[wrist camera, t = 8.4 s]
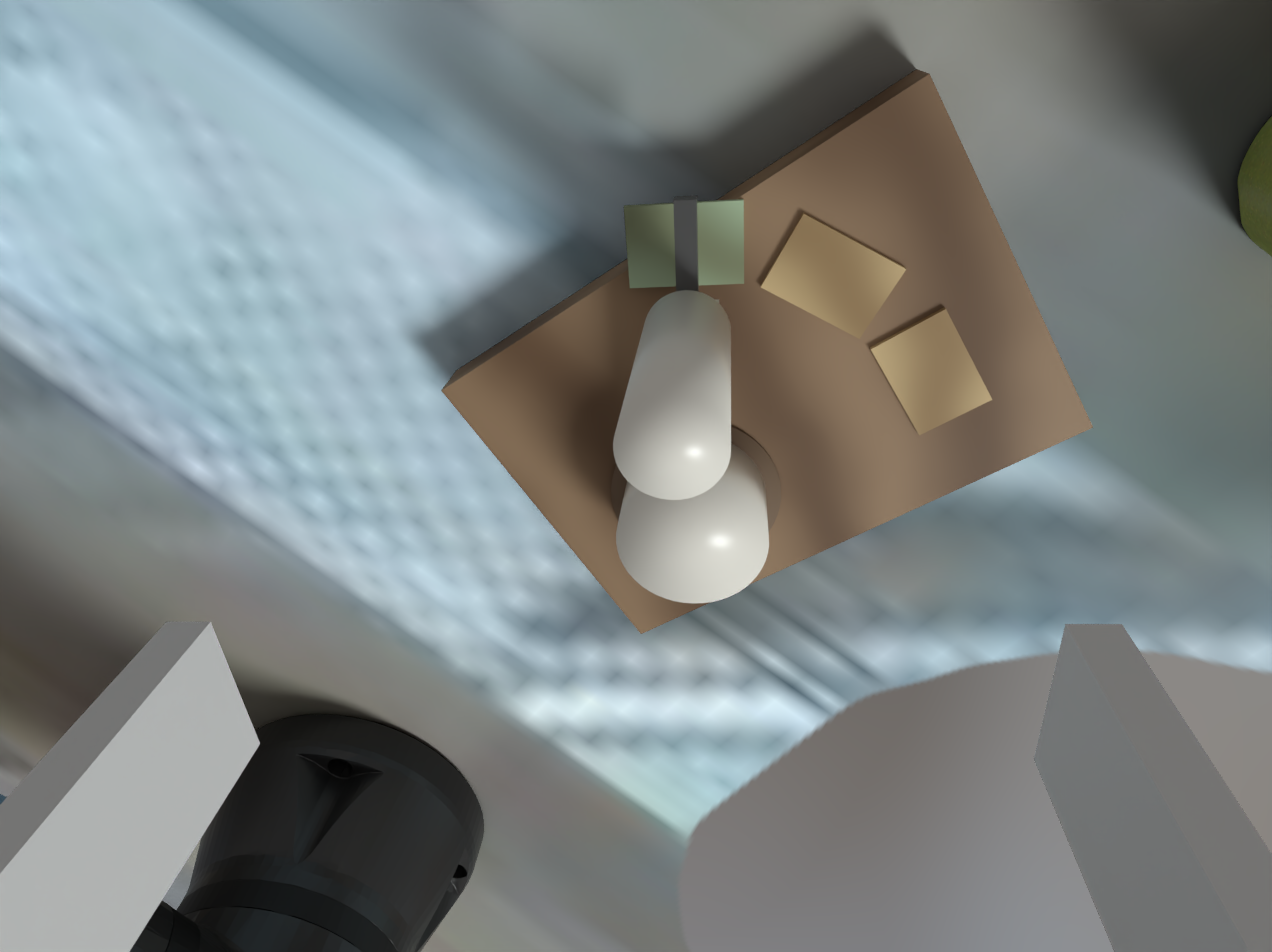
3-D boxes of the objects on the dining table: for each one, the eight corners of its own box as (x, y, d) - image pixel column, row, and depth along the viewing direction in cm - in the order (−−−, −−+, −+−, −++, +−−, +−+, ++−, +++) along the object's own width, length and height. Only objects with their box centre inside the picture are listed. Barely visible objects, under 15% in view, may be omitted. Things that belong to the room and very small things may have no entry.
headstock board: (645, 605, 39) (640, 636, 37) (426, 333, 33) (407, 353, 31) (1073, 404, 32) (1095, 429, 30) (890, 14, 26) (903, 15, 24)
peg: (764, 554, 34) (777, 770, 25) (629, 552, 35) (591, 762, 25) (774, 181, 27) (799, 280, 17) (604, 187, 27) (536, 287, 18)
